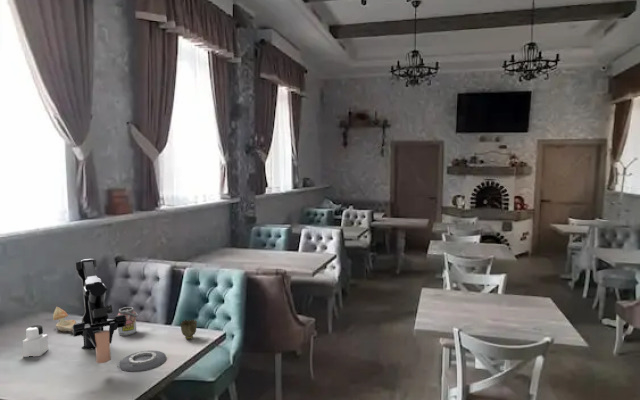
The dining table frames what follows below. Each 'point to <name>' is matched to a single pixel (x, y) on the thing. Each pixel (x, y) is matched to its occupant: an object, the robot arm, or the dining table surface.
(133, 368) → the charcoal plate
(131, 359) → the metal collar
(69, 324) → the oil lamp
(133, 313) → the decorated jar
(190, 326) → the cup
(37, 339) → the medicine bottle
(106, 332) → the terracotta peg
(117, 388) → the dining table surface
